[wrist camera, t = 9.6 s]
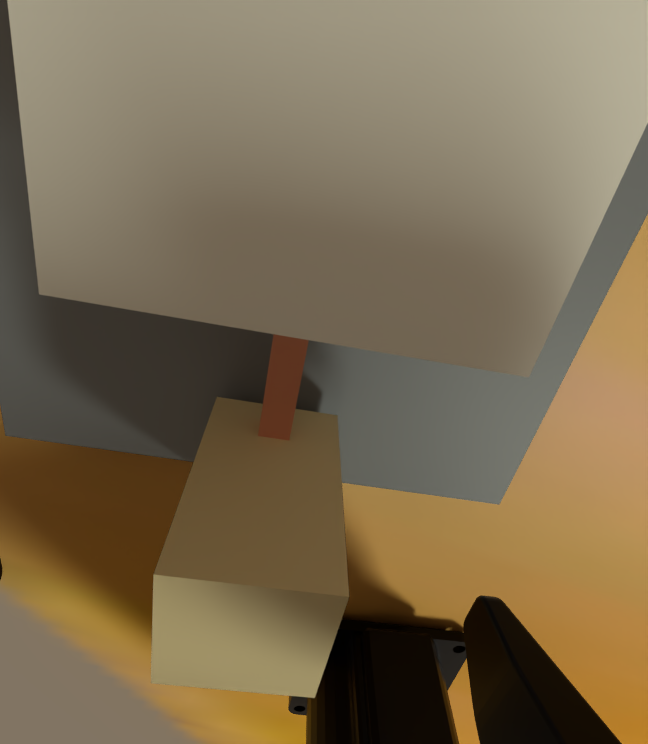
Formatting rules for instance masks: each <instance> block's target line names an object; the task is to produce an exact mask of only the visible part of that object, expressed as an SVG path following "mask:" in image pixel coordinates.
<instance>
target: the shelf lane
mask: <svg viewBox="0 0 648 744" xmlns="http://www.w3.org/2000/svg"><path fill="white" fill-rule="evenodd" d="M647 214H648V123H647V125H646V128H645V130H644V132H643V134H642V136H641V138H640V140H639V143H638V145H637V147H636V149H635V151H634V153H633V155H632V158H631V160H630V162H629V164H628V166H627V168H626V170H625V173H624V175H623V177H622V179H621V181H620V183H619V185H618V188H617V190H616V192H615V194H614V196H613V198H612V200H611V203H610V205H609V207H608V209H607V211H606V213H605V215H604V217H603V220H602V222H601V224H600V226H599V228H598V230H597V232H596V235H595V237H594V239H593V241H592V243H591V245H590V247H589V250H588V252H587V254H586V256H585V258H584V260H583V262H582V265H581V267H580V269H579V271H578V273H577V275H576V277H575V280H574V282H573V284H572V286H571V288H570V290H569V292H568V295H567V297H566V299H565V301H564V303H563V305H562V307H561V310H560V312H559V314H558V316H557V318H556V320H555V322H554V325H553V327H552V329H551V331H550V333H549V335H548V337H547V340H546V342H545V344H544V346H543V348H542V350H541V352H540V354H539V357H538V359H537V361H536V363H535V365H534V367H533V369H532V372H531V374H530V376H529V377H523V376H517V375H511V374H505V373H499V372H493V371H488V370H482V369H476V368H470V367H464V366H458V365H452V364H446V363H440V362H435V361H429V360H423V359H417V358H411V357H405V356H399V355H393V354H387V353H382V352H376V351H370V350H364V349H358V348H352V347H346V346H340V345H334V344H329V343H323V342H317V341H311V340H309V342H308V347H307V352H306V357H305V362H304V367H303V372H302V377H301V382H300V388H299V393H298V398H297V403H296V408H295V409H300V410H306V411H313V412H319V413H326V414H332V415H337V416H338V431H339V447H340V462H341V478H342V483H349V484H356V485H363V486H370V487H378V488H385V489H392V490H399V491H406V492H413V493H421V494H428V495H435V496H442V497H449V498H456V499H464V500H471V501H478V502H485V503H492V504H500V502H501V500H502V498H503V496H504V494H505V492H506V490H507V488H508V487H509V485H510V483H511V481H512V479H513V477H514V475H515V473H516V471H517V469H518V467H519V465H520V463H521V461H522V459H523V457H524V455H525V453H526V451H527V449H528V447H529V445H530V443H531V441H532V439H533V438H534V436H535V434H536V432H537V430H538V428H539V426H540V424H541V422H542V420H543V418H544V416H545V414H546V412H547V410H548V408H549V406H550V404H551V402H552V400H553V398H554V396H555V394H556V392H557V390H558V388H559V387H560V385H561V383H562V381H563V379H564V377H565V375H566V373H567V371H568V369H569V367H570V365H571V363H572V361H573V359H574V357H575V355H576V353H577V351H578V349H579V347H580V345H581V343H582V341H583V339H584V338H585V336H586V334H587V332H588V330H589V328H590V326H591V324H592V322H593V320H594V318H595V316H596V314H597V312H598V310H599V308H600V306H601V304H602V302H603V300H604V298H605V296H606V294H607V292H608V290H609V288H610V287H611V285H612V283H613V281H614V279H615V277H616V275H617V273H618V271H619V269H620V267H621V265H622V263H623V261H624V259H625V257H626V255H627V253H628V251H629V249H630V247H631V245H632V243H633V241H634V239H635V238H636V236H637V234H638V232H639V230H640V228H641V226H642V224H643V222H644V220H645V218H646V216H647ZM273 335H274V334H270V333H264V332H258V331H252V330H246V329H240V328H234V327H228V326H223V325H217V324H211V323H205V322H199V321H193V320H187V319H181V318H175V317H170V316H164V315H158V314H152V313H146V312H140V311H134V310H128V309H122V308H117V307H111V306H105V305H99V304H93V303H87V302H81V301H75V300H69V299H64V298H58V297H52V296H46V295H40V294H39V289H38V280H37V271H36V262H35V252H34V243H33V234H32V225H31V215H30V206H29V197H28V188H27V178H26V169H25V160H24V151H23V141H22V132H21V123H20V114H19V104H18V95H17V86H16V77H15V67H14V58H13V49H12V40H11V30H10V21H9V12H8V3H7V0H0V406H1V412H2V418H3V424H4V430H5V435H6V436H12V437H19V438H26V439H33V440H41V441H48V442H55V443H62V444H69V445H76V446H84V447H91V448H98V449H105V450H112V451H119V452H127V453H134V454H141V455H148V456H155V457H162V458H170V459H177V460H184V461H191V462H194V460H195V457H196V454H197V451H198V448H199V446H200V443H201V440H202V437H203V434H204V432H205V429H206V426H207V423H208V420H209V418H210V415H211V412H212V409H213V406H214V404H215V401H216V398H217V397H222V398H228V399H235V400H241V401H248V402H254V403H261V404H263V400H264V393H265V387H266V380H267V374H268V367H269V361H270V354H271V348H272V341H273Z"/></svg>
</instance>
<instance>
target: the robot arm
mask: <svg viewBox="0 0 648 744" xmlns="http://www.w3.org/2000/svg"><path fill="white" fill-rule="evenodd" d="M1 576H2V564H1V559H0V579H1ZM463 632H464V633H462V632H455V631H445V630H436V629H427V628H418V627H409V626H399V625H390V624H381V623H372V622H363V621H353V620H344V619H342V620H341V622H340V625H339V628H338V631H337V634H336V637H335V640H334V643H333V646H332V649H331V652H330V655H329V658H328V660H327V663H326V666H325V669H324V672H323V675H322V678H321V681H320V684H319V687H318V690H317V693H316V696H315V698H309V697H298V696H289V707H288V708H289V711H290V712H291V713H293V714H298V715H307V721H306V744H459V741H458V736H457V732H456V728H455V723H454V719H453V714H452V710H451V705H450V701H449V696H448V692H447V690H448V689H449V687H450V685H451V684H452V682H453V680H454V679H455V677H456V675H457V673H458V672H459V670H460V668H461V667H462V665H463V663H464V662H465V660H466V658H467V664H468V672H469V679H470V687H471V695H472V703H473V709H474V716H475V721H476V726H477V731H478V736H479V740H480V744H622V743H621V742H620V741H619V740H618V739H617V737H616V736H615V735H614V734H613V733H612V731H611V730H610V729H609V728H608V727H607V725H606V724H605V723H604V722H603V721H602V719H601V718H600V717H599V716H598V715H597V713H596V712H595V711H594V710H593V709H592V707H591V706H590V705H589V704H588V703H587V701H586V700H585V699H584V698H583V697H582V696H581V694H580V693H579V692H578V691H577V690H576V688H575V687H574V686H573V685H572V684H571V682H570V681H569V680H568V679H567V678H566V676H565V675H564V674H563V673H562V672H561V670H560V669H559V668H558V667H557V666H556V664H555V663H554V662H553V661H552V660H551V658H550V657H549V656H548V655H547V654H546V652H545V651H544V650H543V649H542V648H541V646H540V645H539V644H538V643H537V642H536V640H535V639H534V638H533V637H532V636H531V634H530V633H529V632H528V631H527V630H526V628H525V627H524V626H523V625H522V624H521V622H520V621H519V620H518V619H517V618H516V616H515V615H514V614H513V613H512V612H511V610H510V609H509V608H508V607H507V606H506V604H505V603H504V602H503V601H502V600H501V599H499V598H497V597H490V596H479V597H477V598H476V600H475V602H474V604H473V605H472V607H471V609H470V611H469V613H468V614H467V616H466V618H465V621H464V626H463Z"/></svg>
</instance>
